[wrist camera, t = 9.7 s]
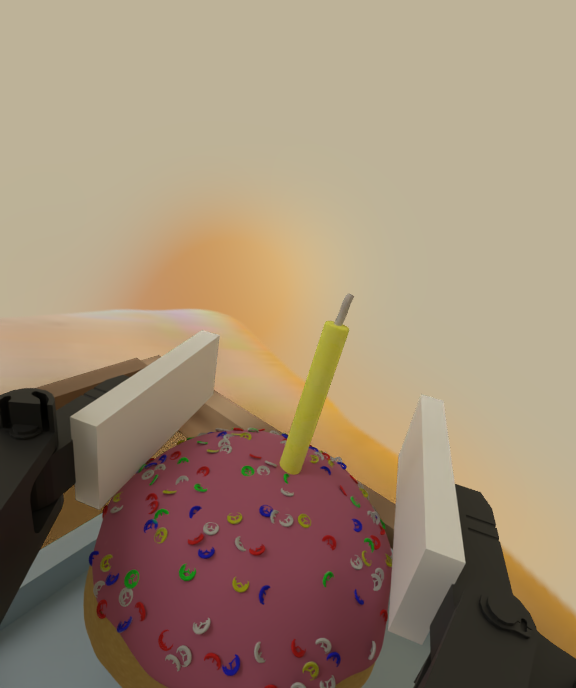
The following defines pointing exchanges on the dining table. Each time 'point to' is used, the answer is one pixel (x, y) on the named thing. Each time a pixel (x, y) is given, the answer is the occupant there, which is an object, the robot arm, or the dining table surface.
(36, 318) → the dining table surface
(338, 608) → the cupcake
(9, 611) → the tray
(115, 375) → the dock
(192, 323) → the dining table surface
